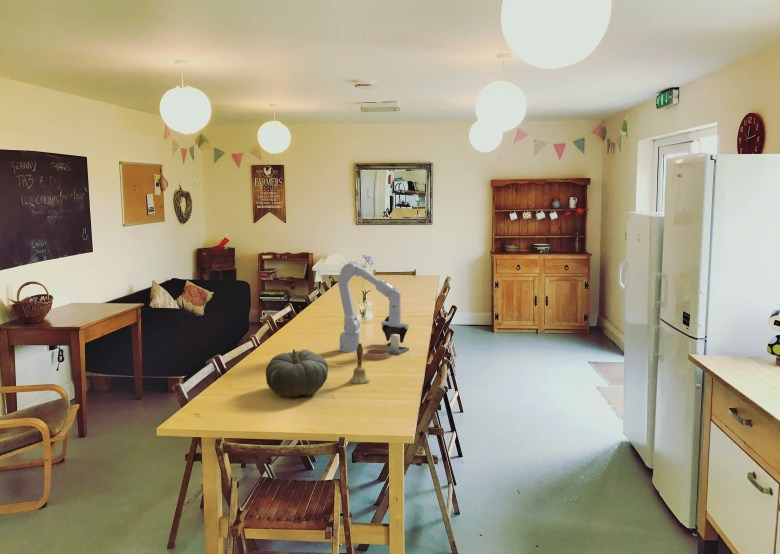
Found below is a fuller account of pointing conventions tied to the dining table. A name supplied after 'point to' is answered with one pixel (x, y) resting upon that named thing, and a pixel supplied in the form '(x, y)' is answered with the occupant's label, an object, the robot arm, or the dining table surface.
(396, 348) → the peg
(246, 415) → the dining table surface
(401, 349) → the tray
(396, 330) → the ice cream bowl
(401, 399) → the dining table surface
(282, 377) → the gourd
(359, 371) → the hand bell
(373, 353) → the terracotta bowl
